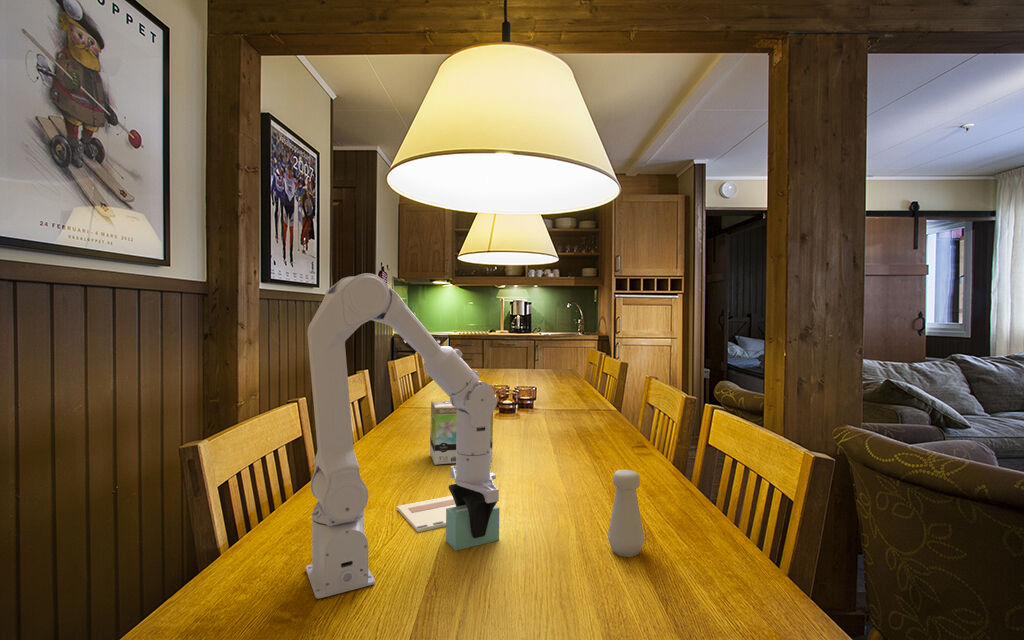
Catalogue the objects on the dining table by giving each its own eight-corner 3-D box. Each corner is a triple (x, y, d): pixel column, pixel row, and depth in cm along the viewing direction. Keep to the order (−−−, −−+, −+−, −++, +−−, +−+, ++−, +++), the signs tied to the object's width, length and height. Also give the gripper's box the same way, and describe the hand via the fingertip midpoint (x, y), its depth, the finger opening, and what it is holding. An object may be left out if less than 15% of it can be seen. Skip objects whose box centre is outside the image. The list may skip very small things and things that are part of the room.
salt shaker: (618, 539, 87) (619, 463, 87) (650, 550, 84) (651, 470, 83) (601, 552, 83) (601, 472, 82) (633, 563, 79) (634, 479, 79)
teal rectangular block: (499, 539, 87) (499, 507, 87) (455, 550, 83) (455, 516, 83) (488, 531, 90) (488, 499, 90) (446, 541, 86) (446, 508, 86)
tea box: (434, 466, 127) (434, 407, 127) (429, 455, 137) (429, 400, 137) (493, 462, 131) (493, 404, 131) (484, 451, 141) (485, 398, 141)
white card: (489, 516, 97) (489, 512, 97) (417, 532, 90) (417, 528, 90) (462, 496, 107) (462, 492, 107) (396, 509, 100) (396, 505, 100)
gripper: (515, 458, 82) (514, 542, 82) (475, 438, 95) (475, 511, 95) (475, 465, 78) (475, 553, 79) (439, 443, 91) (439, 519, 91)
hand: (472, 531), depth 87 cm, fingers closed on teal rectangular block, 4 cm apart
